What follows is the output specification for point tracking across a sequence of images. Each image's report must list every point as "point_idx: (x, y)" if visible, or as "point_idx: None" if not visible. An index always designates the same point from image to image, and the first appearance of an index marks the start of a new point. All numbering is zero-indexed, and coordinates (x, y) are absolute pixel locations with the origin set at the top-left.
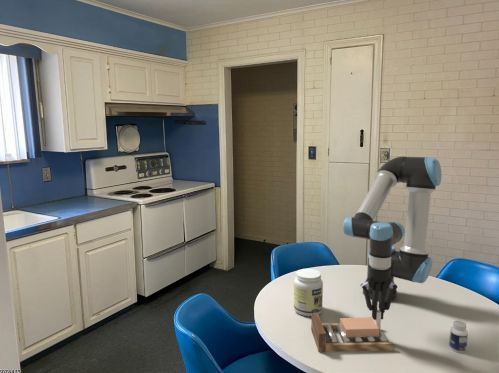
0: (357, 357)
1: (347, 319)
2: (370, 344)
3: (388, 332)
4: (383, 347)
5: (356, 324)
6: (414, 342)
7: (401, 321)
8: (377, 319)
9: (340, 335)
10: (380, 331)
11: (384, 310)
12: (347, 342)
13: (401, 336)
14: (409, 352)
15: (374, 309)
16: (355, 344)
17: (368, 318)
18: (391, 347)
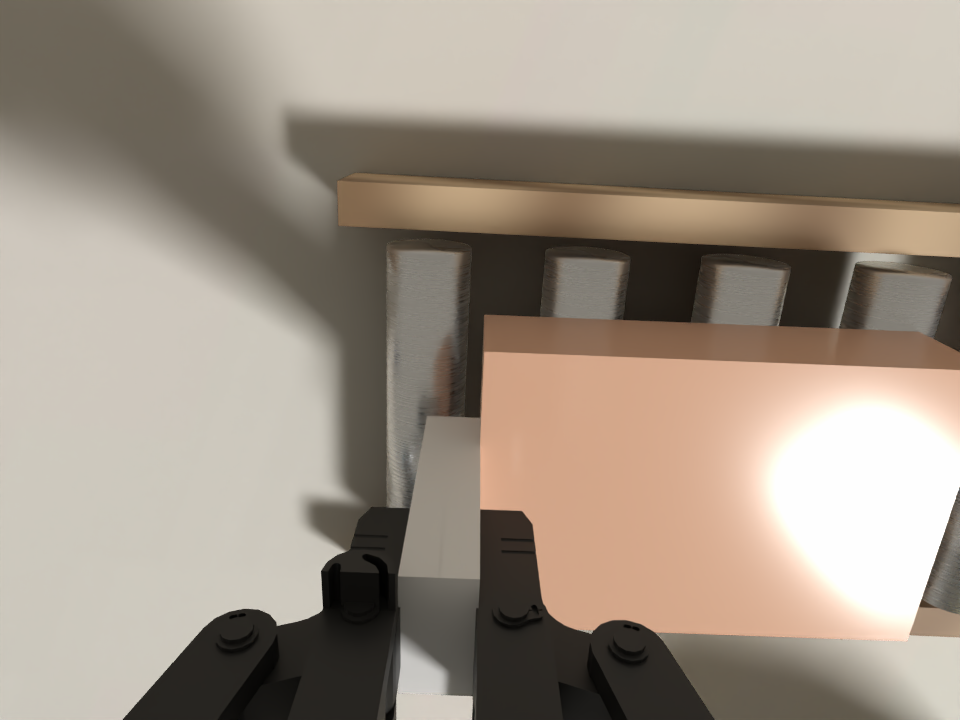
0: (826, 72)
1: (824, 606)
2: (639, 196)
3: (285, 496)
4: (469, 183)
5: (767, 483)
6: (65, 304)
7: (92, 653)
8: (470, 493)
9: None
10: (417, 418)
11: (311, 617)
12: (897, 271)
13: (173, 420)
14: (181, 118)
15: (541, 634)
16: (834, 206)
17: None
18: (372, 176)
